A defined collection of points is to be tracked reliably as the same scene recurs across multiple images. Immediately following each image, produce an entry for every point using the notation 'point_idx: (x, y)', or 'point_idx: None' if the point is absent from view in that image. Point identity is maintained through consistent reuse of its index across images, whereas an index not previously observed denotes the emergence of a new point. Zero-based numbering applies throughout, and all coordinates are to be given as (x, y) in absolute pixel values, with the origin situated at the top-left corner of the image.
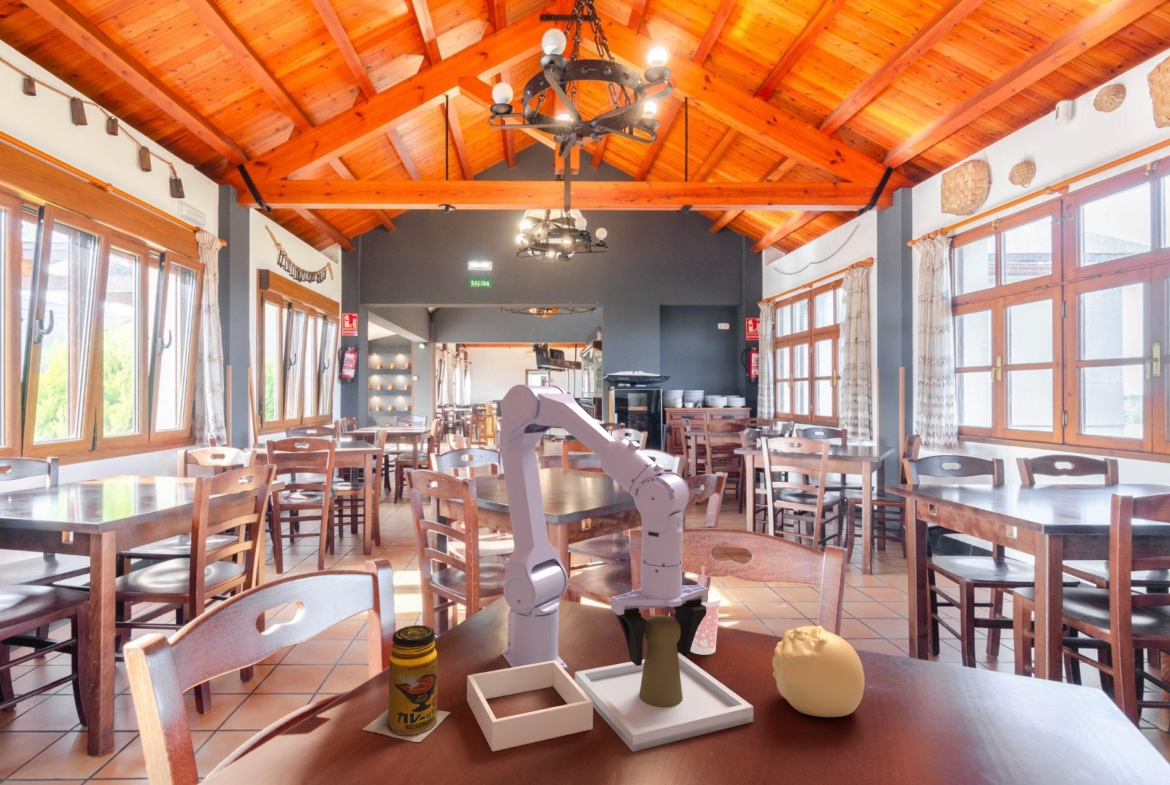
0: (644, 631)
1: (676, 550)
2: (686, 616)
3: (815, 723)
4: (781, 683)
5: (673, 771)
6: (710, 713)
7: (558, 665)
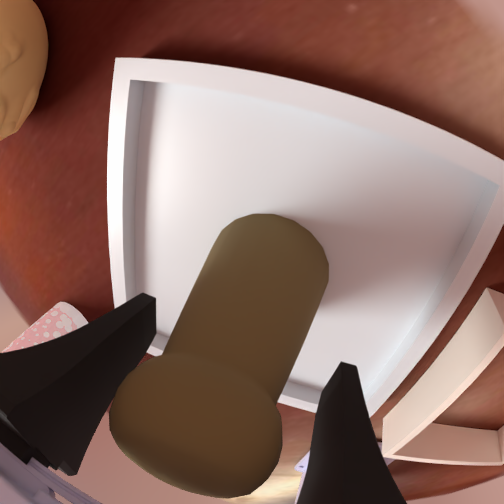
0: (342, 484)
1: None
2: (61, 413)
3: (55, 9)
4: (18, 80)
5: (489, 38)
6: (247, 86)
7: (397, 447)
